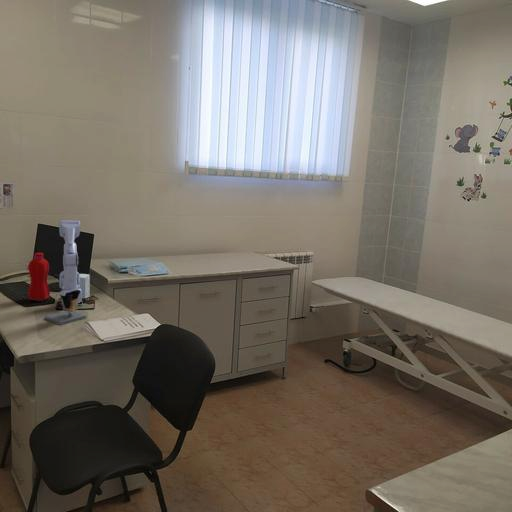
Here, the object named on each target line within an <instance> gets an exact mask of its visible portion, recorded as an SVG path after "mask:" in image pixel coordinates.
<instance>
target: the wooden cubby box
mask: <svg viewBox="0 0 512 512" xmlns="http://www.w3.org/2000/svg"><path fill="white" fill-rule="evenodd" d="M78 309H79V306H78V299H73V298H72V299H71V305H70V308H69V309H67V308H65V306H64V302H63V307H62V312H65V311H68V312H76V311H77V310H78Z"/></svg>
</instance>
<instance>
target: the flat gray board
mask: <svg viewBox="0 0 512 512" xmlns="http://www.w3.org/2000/svg"><path fill="white" fill-rule="evenodd" d="M86 318H87V315H86V314H83V313H80V312H76V311H74V312H73V316H68V311H62V312H61V311H60V312H58V313H54V314H52V313H51V314H49V315H44V320H47V321H49V322H52V323H54V324H57V325H64V324H69V323H72V322H76V321H80V320H84V319H86Z"/></svg>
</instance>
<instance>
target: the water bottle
mask: <svg viewBox="0 0 512 512" xmlns="http://www.w3.org/2000/svg"><path fill="white" fill-rule="evenodd" d="M44 256H45V255H44V253H43V252H37V253H34V254H33V259H31V260H30V261H29V263H28V265H27V270H26V271H28V274H29V275H28V274H26V276H27V277H28V278H29V277H30V284H29V288H28V293H27V294H28V295H27V296H28V299H29V298H30V299H40V300H42V299H47V298H48V299H49V298H50V294H51V293H50V288H49V283H48V275H49V271H50V264H49V262H48V260H46V259H45V258H44ZM48 299H47V300H48Z"/></svg>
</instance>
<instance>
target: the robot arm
mask: <svg viewBox="0 0 512 512" xmlns="http://www.w3.org/2000/svg"><path fill="white" fill-rule="evenodd" d="M58 222H59V223H58V226H59V227H58V228H59V229H58V231H59V237H62V238H63V239H64V244H63V255H62V258H63V259H62V264H63V270H62V271H61V272H60V273H59V278H58V279H59V285H58V286H59V288H60V289H61V290H60V293H59V297H60V298H61V304H63V302H64V306H65V308H67V309H69V308H70V305H71V299H72V298H73V299H78V303H80V302H82V303H83V301H82V290H81V289H80V274H81V273H79V272H78V265H79V256H78V251H77V250H78V249H77V243H76V242H75V239H76V238H78V237H79V236H80V233H81V221H80V220H79V219H78V220H71V219H70V220H69V219H68V220H66V219H65V220H64V219H63V220H61V219H60V220H58Z"/></svg>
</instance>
